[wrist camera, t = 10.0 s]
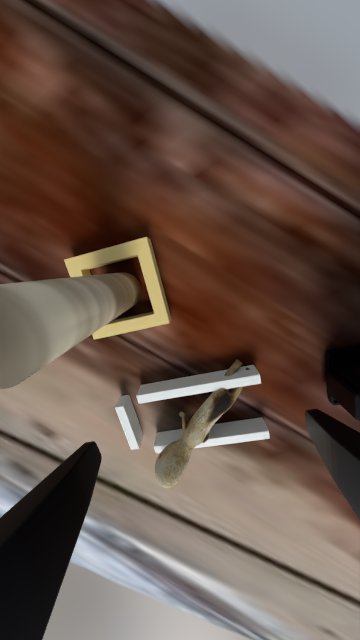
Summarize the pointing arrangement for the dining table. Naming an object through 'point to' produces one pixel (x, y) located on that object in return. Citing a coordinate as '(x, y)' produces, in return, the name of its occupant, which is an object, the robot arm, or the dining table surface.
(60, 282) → the post
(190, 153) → the dining table surface
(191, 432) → the figurine
